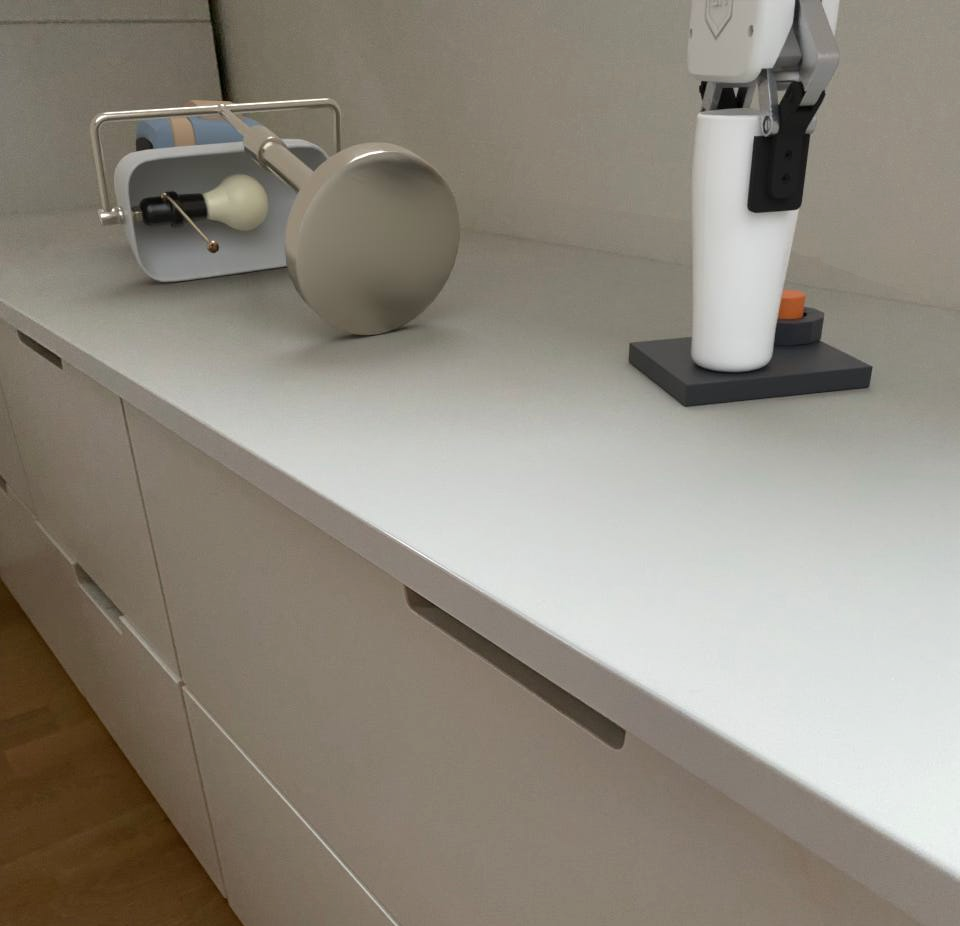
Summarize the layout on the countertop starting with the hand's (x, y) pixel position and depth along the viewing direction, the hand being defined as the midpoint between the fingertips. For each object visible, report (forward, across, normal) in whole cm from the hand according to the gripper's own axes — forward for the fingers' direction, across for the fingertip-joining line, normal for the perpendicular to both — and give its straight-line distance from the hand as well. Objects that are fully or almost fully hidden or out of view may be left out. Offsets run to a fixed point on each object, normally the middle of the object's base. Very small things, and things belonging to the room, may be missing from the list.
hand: (746, 200), depth 61 cm
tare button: (+9, -6, +7) cm, 12 cm away
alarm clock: (+12, -76, -35) cm, 84 cm away
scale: (+12, -2, +2) cm, 12 cm away
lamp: (+12, -39, -27) cm, 49 cm away
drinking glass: (+10, 0, 0) cm, 10 cm away
